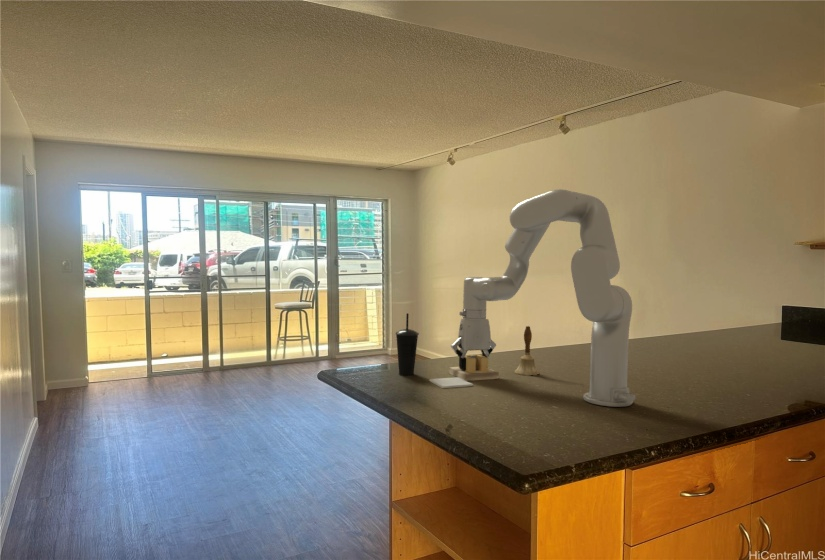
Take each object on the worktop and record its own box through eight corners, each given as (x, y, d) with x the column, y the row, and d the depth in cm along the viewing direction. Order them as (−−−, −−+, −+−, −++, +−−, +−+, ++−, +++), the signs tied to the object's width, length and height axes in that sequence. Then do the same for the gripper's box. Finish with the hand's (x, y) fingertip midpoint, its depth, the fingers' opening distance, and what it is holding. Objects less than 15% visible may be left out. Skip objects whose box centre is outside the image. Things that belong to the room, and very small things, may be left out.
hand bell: (541, 375, 179) (543, 328, 178) (516, 375, 179) (517, 327, 179) (536, 370, 187) (537, 325, 187) (512, 370, 187) (513, 324, 187)
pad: (472, 386, 162) (472, 384, 162) (442, 388, 158) (442, 386, 158) (458, 379, 171) (458, 377, 171) (429, 381, 168) (429, 379, 168)
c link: (488, 371, 175) (488, 357, 175) (468, 372, 172) (469, 358, 172) (477, 367, 181) (477, 354, 181) (458, 368, 179) (459, 355, 179)
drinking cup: (418, 372, 181) (420, 312, 181) (416, 376, 174) (418, 314, 173) (396, 371, 182) (397, 312, 181) (393, 375, 174) (394, 314, 174)
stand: (498, 378, 173) (499, 358, 173) (465, 380, 169) (465, 359, 169) (480, 371, 185) (480, 352, 184) (448, 373, 180) (449, 353, 180)
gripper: (455, 316, 169) (454, 372, 170) (503, 315, 176) (502, 369, 176) (445, 314, 176) (444, 368, 177) (492, 313, 183) (490, 365, 183)
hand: (473, 368), depth 177 cm, fingers closed on c link, 7 cm apart
